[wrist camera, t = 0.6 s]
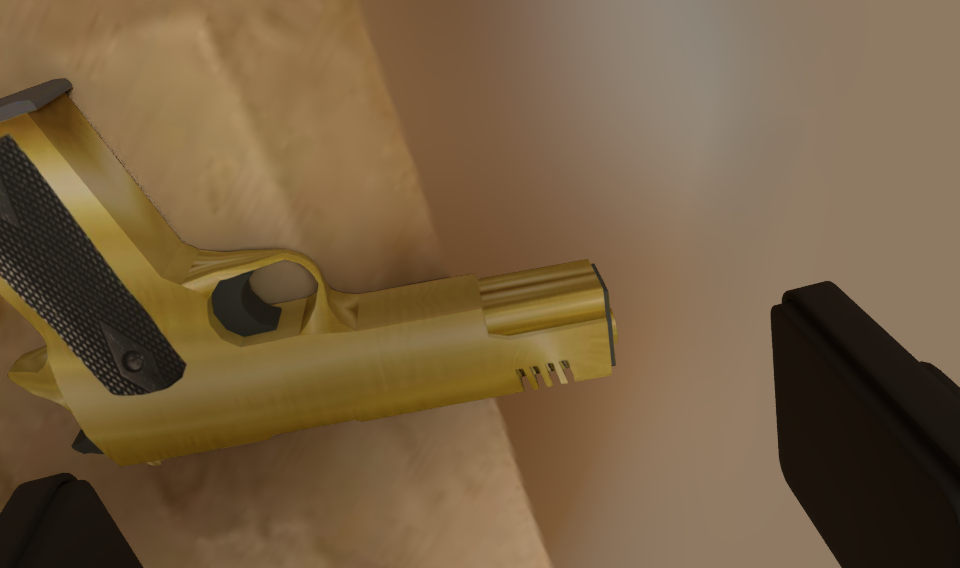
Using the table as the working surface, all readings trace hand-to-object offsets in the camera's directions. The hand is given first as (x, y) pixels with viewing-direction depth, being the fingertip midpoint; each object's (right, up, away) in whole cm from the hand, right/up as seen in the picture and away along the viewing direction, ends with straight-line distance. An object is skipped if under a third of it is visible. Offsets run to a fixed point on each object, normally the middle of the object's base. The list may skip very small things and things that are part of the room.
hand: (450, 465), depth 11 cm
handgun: (-6, +9, +10) cm, 15 cm away
